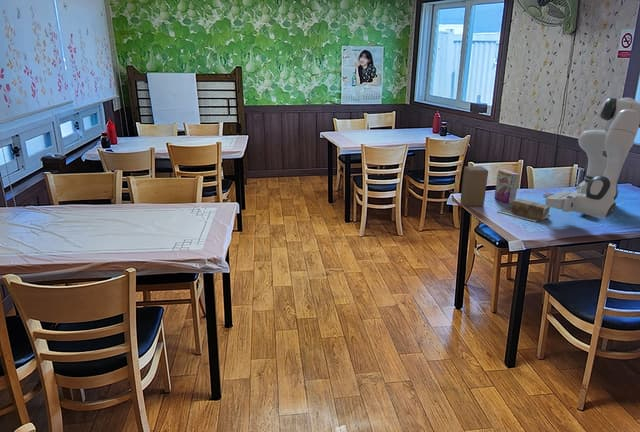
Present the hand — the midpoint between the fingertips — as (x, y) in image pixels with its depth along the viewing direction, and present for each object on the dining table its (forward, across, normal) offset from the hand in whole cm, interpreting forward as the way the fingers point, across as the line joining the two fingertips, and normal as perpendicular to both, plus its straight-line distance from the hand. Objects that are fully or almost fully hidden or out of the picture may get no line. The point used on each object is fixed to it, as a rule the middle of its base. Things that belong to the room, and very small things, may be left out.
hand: (544, 195), depth 221 cm
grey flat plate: (+9, 0, +12) cm, 15 cm away
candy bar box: (+26, -13, +12) cm, 32 cm away
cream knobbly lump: (-13, -22, +12) cm, 28 cm away
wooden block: (+35, +6, +12) cm, 37 cm away
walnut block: (-2, 0, +8) cm, 9 cm away
